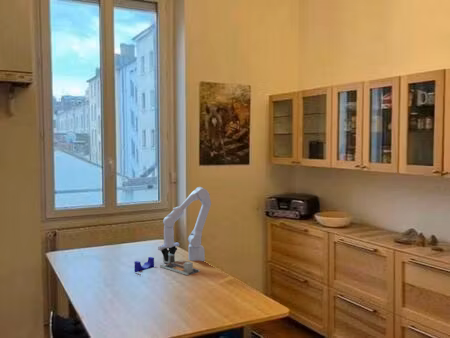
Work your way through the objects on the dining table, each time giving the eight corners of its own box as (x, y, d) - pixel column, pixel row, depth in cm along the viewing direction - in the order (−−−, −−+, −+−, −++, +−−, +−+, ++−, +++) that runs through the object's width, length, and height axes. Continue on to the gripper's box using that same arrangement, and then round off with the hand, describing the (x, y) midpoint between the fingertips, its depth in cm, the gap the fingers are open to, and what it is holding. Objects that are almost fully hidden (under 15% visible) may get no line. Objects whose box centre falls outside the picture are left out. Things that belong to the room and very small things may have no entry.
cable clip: (148, 266, 265) (148, 256, 264) (154, 268, 262) (154, 257, 262) (132, 271, 255) (132, 261, 255) (138, 273, 252) (138, 262, 252)
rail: (173, 266, 266) (173, 261, 266) (200, 274, 251) (200, 269, 251) (159, 269, 258) (159, 265, 258) (186, 278, 244) (186, 273, 243)
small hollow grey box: (188, 270, 252) (188, 261, 252) (192, 271, 250) (192, 262, 250) (183, 272, 250) (183, 262, 249) (187, 273, 248) (187, 264, 247)
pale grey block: (167, 261, 275) (167, 252, 274) (174, 263, 270) (174, 254, 270) (163, 262, 272) (163, 253, 272) (170, 264, 268) (170, 255, 267)
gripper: (173, 234, 278) (173, 256, 279) (154, 238, 267) (154, 261, 268) (181, 236, 273) (181, 258, 274) (162, 240, 263) (162, 263, 264)
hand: (168, 260), depth 271 cm, fingers closed on pale grey block, 3 cm apart
